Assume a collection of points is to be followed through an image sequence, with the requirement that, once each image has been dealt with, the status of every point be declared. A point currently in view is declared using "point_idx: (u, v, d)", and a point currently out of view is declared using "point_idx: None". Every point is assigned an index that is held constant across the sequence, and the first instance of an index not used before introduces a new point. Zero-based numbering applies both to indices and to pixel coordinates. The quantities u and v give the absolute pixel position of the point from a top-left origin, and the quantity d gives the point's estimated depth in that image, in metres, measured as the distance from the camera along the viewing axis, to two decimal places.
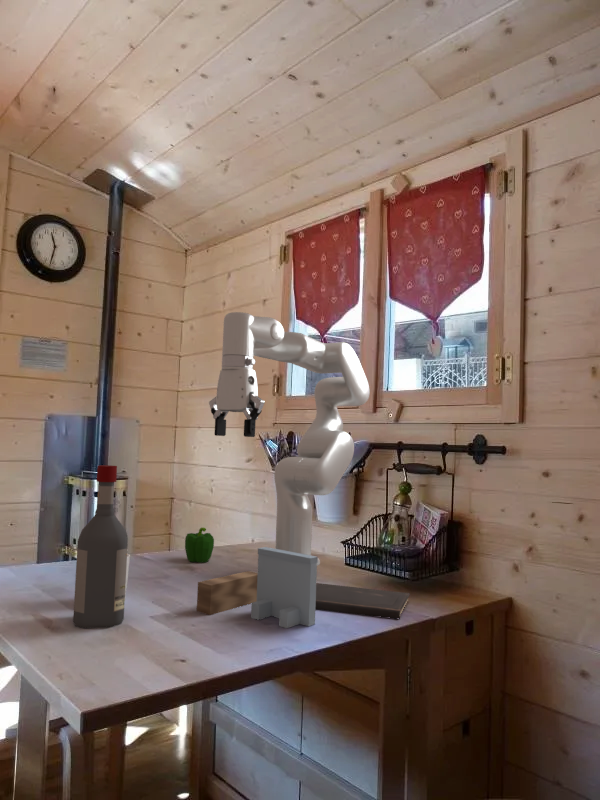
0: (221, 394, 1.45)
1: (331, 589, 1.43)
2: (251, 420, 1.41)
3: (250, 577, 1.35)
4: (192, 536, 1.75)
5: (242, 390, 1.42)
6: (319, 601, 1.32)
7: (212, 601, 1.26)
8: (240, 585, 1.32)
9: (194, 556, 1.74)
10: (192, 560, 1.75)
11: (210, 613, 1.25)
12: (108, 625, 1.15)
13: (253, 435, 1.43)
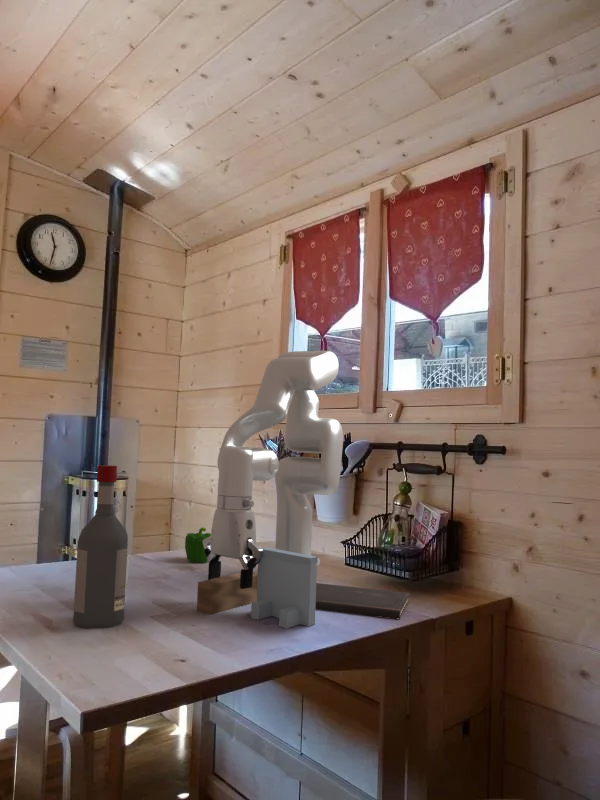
0: (216, 537, 1.33)
1: (331, 589, 1.43)
2: (248, 570, 1.28)
3: None
4: (192, 536, 1.75)
5: (239, 537, 1.29)
6: (319, 601, 1.32)
7: (212, 601, 1.26)
8: None
9: (194, 556, 1.74)
10: (192, 560, 1.75)
11: (210, 613, 1.25)
12: (108, 625, 1.15)
13: (250, 585, 1.30)
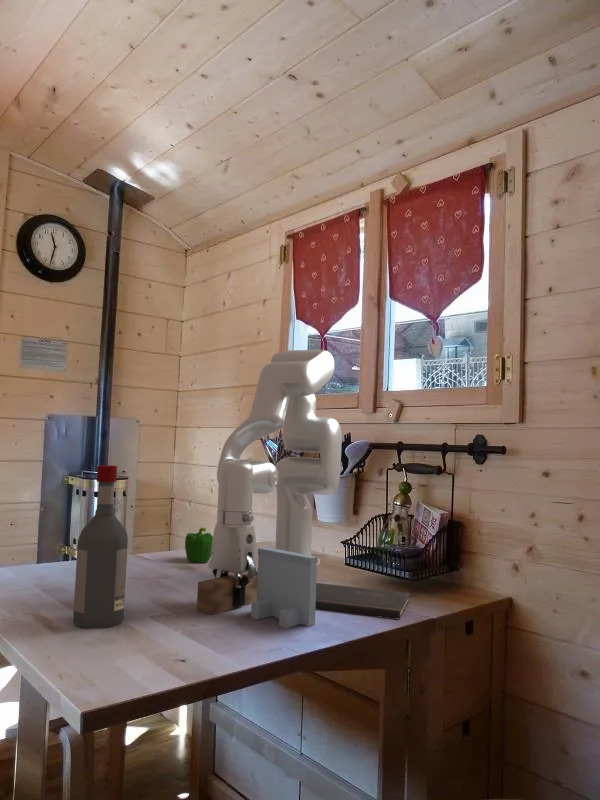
0: (217, 551, 1.33)
1: (331, 589, 1.43)
2: (240, 588, 1.30)
3: None
4: (192, 536, 1.75)
5: (239, 552, 1.29)
6: (319, 601, 1.32)
7: (212, 601, 1.26)
8: None
9: (194, 556, 1.74)
10: (192, 560, 1.75)
11: (210, 613, 1.25)
12: (108, 625, 1.15)
13: (243, 603, 1.32)
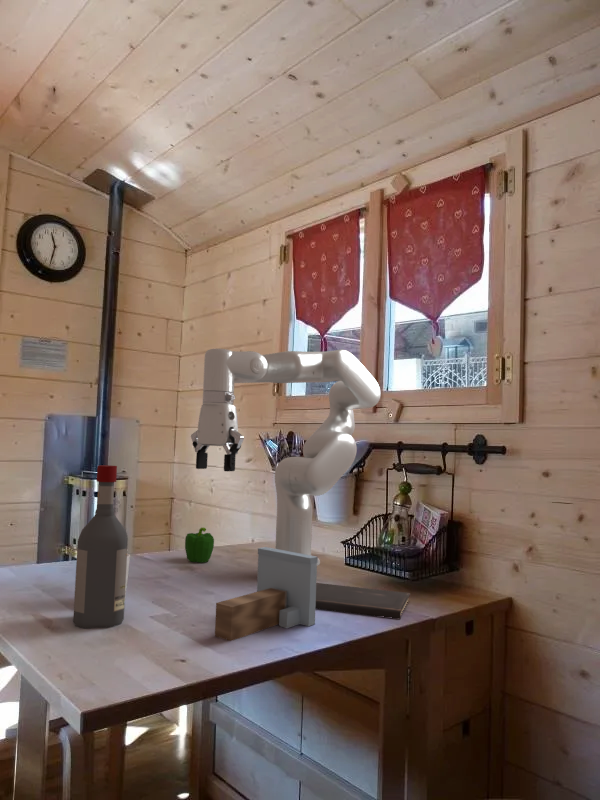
0: (202, 429, 1.49)
1: (332, 589, 1.43)
2: (231, 455, 1.45)
3: (273, 596, 1.19)
4: (192, 536, 1.75)
5: (222, 426, 1.45)
6: (320, 601, 1.33)
7: (233, 625, 1.10)
8: (262, 605, 1.17)
9: (194, 556, 1.74)
10: (192, 560, 1.75)
11: (231, 639, 1.10)
12: (108, 625, 1.15)
13: (233, 469, 1.46)
